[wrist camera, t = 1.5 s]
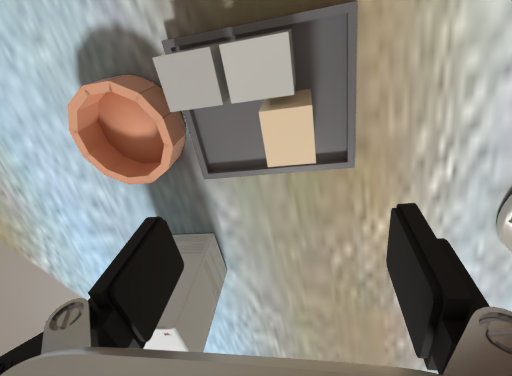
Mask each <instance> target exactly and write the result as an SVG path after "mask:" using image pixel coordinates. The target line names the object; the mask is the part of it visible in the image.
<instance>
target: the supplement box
mask: <svg viewBox="0 0 512 376" xmlns="http://www.w3.org/2000/svg"><path fill="white" fill-rule="evenodd" d="M172 236H173V238H174V240H175V243H176V245H177V247H178V250H179V252H180V254H181V256H182V259H183V261H184V270H183V272H182V274H181V276H180V278H179V280H178V283H177V285H176V287H175V289H174V291H173V293H172V295H171V297H170V299H169V302H168V304H167V306H166V308H165V310H164V312H163V314H162V316H161V318H160V321H159V323H158V325H157V327H156V329H155V331H154V333H153V335H152V337H151V339H150V340H149V341H148V342H146V344H145V346H144V348H143V349H152V350H169V351H186V352H201V353H203V351H204V347H205V344H206V341H207V337H208V334H209V330H210V327H211V324H212V320H213V317H214V313H215V310H216V307H217V303H218V300H219V296H220V293H221V290H222V286H223V283H224V280H225V276H226V273H227V269H226V266H225V264H224V261H223V258H222V255H221V252H220V249H219V247H218V244H217V241H216V238H215V235H214V234H213V233H208V234H181V235H172Z"/></svg>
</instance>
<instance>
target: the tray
mask: <svg viewBox="0 0 512 376" xmlns="http://www.w3.org/2000/svg"><path fill="white" fill-rule="evenodd" d="M286 29H291V30H292V41H293V52H294V63H295V74H296V85H295V91H298V90H305V89H311V97H312V109H313V124H314V140H315V155H316V163H311V164H299V165H287V166H275V167H268V165H267V159H266V153H265V147H264V141H263V135H262V130H261V124H260V118H259V110H260V108H261V106H262V104H263V102H264V99H261V100H254V101H247V102H240V103H233V104H232V103H231V99H230V98H229V99H228V100H227V101H226V102H225V103H224V104H223V105H218V106H211V107H204V108H197V109H190V110H183V112H184V115H185V119H186V122H187V125H188V128H189V131H190V135H191V138H192V141H193V144H194V148H195V151H196V154H197V157H198V160H199V164H200V167H201V170H202V173H203V176H204V179H215V178H228V177H241V176H253V175H266V174H279V173H291V172H304V171H316V170H329V169H342V168H354V167H355V107H356V46H357V1H354V2H349V3H344V4H339V5H334V6H329V7H325V8H320V9H315V10H310V11H305V12H300V13H295V14H290V15H285V16H281V17H276V18H271V19H266V20H261V21H256V22H251V23H246V24H242V25H237V26H232V27H227V28H222V29H217V30H212V31H207V32H202V33H198V34H193V35H188V36H183V37H178V38H173V39H168V40H163V41H162V44H163V48H164V51H165V54H167V53H171V52H174V51H178V50H182V49H187V48H193V47H198V46H203V45H208V44H213V43H219V42H224V41H228V42H229V41H232V40H235V39H239V38H244V37H250V36H255V35H260V34H265V33H270V32H275V31H281V30H286Z"/></svg>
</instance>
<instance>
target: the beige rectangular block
mask: <svg viewBox="0 0 512 376" xmlns="http://www.w3.org/2000/svg"><path fill="white" fill-rule="evenodd" d="M259 118H260V124H261V130H262V135H263V141H264V147H265V153H266V159H267V165H268V167H275V166H287V165H299V164H311V163H316V155H315V140H314V124H313V109H312V97H311V89H305V90H298V91H295V93H294V95H290V96H282V97H275V98H268V99H264V102H263V104H262V106H261V108H260V110H259Z"/></svg>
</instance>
